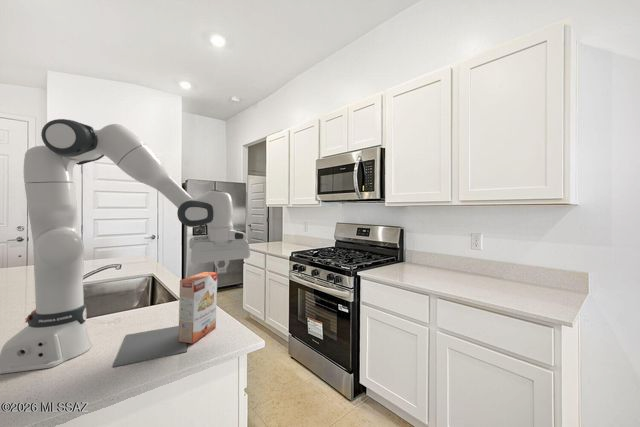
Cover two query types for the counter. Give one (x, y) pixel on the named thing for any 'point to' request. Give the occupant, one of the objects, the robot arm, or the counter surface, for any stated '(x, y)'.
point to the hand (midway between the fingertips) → (221, 272)
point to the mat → (150, 346)
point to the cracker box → (197, 306)
